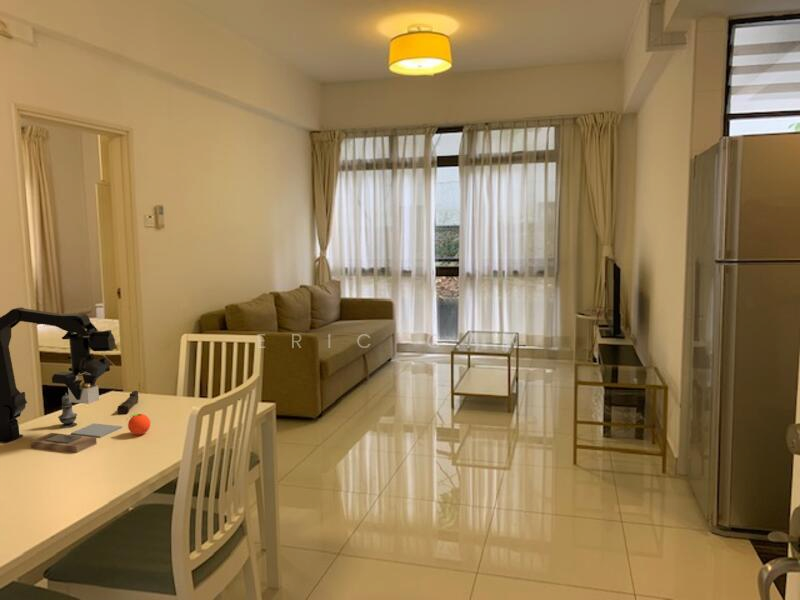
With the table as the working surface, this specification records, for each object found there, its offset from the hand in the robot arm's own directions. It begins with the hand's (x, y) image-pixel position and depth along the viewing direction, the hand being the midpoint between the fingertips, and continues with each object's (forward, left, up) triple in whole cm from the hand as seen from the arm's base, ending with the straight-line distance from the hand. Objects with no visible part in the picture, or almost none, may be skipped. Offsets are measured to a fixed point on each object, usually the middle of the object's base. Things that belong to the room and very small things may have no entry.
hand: (83, 397), depth 197 cm
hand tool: (-9, +31, -14) cm, 35 cm away
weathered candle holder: (-14, +7, -13) cm, 21 cm away
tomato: (+16, +6, -13) cm, 21 cm away
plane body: (0, -9, -13) cm, 16 cm away
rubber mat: (0, +5, -13) cm, 14 cm away
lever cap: (0, 0, -1) cm, 1 cm away
